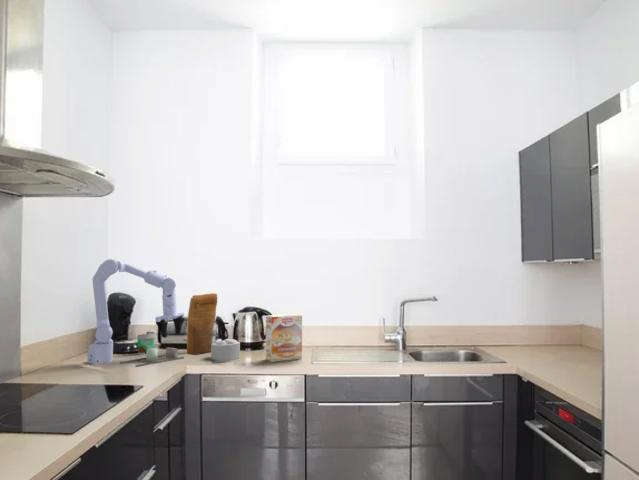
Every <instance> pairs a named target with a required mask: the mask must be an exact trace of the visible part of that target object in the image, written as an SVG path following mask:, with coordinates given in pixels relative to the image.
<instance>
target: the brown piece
mask: <svg viewBox="0 0 639 480" xmlns="http://www.w3.org/2000/svg"><path fill="white" fill-rule="evenodd" d="M165 354H166V356H164V357H158V359H157V361H160V360H166V359H172V358H177V357H178V348H175V347H165ZM138 362H140V363H149V362H147V361H146V360H141V361H138Z"/></svg>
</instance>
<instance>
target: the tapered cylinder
mask: <svg viewBox="0 0 639 480" xmlns="http://www.w3.org/2000/svg"><path fill="white" fill-rule="evenodd" d="M158 352H159V351H158V348H157V347H154V348H149V349H147V351H146V354H145V356H146V357H145V358H146V361H147V362H155V361H157V359H158V358H159V357H158Z"/></svg>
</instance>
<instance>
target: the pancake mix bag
mask: <svg viewBox="0 0 639 480" xmlns="http://www.w3.org/2000/svg"><path fill="white" fill-rule="evenodd" d="M217 304H218V294H217V293H205V294H197V295H192V297H190V302H189V307H188V311H187V325H186V326H187V327H186V332H187V333H186V335H187V336H186V355H190V356H196V355H197V356H198V355H202V354H206V353H211V344H212V343H213V337H214V336H213V335H214V323H215V321H216V316H217V315H216V314H217V313H216V312H217V311H216V310H217V306H218V305H217Z"/></svg>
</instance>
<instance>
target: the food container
mask: <svg viewBox="0 0 639 480" xmlns="http://www.w3.org/2000/svg"><path fill="white" fill-rule="evenodd" d="M156 338H157V335H156V333H155V331H146V333H142V334H137V338H136V340H137V355H146V351H147V349H149V348H155V339H156Z"/></svg>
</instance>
